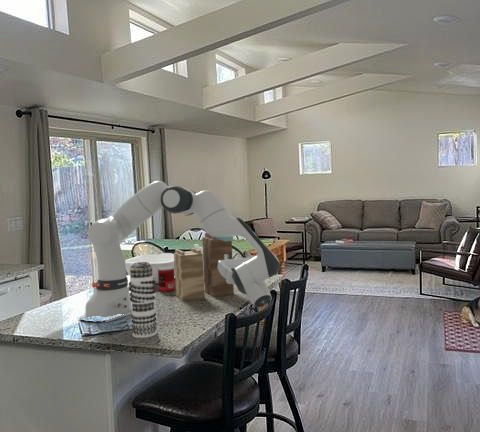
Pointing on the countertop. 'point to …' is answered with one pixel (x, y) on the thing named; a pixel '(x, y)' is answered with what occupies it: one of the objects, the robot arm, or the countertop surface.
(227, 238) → the teal block
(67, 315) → the countertop surface
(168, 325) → the countertop surface
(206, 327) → the countertop surface
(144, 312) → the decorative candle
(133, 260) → the baking dish
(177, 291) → the tan wooden tall block
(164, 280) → the canned food
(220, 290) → the end cap post
